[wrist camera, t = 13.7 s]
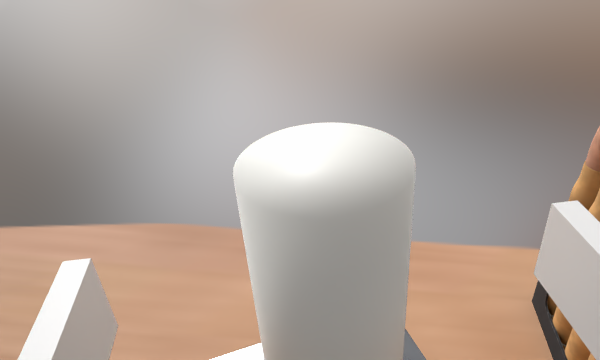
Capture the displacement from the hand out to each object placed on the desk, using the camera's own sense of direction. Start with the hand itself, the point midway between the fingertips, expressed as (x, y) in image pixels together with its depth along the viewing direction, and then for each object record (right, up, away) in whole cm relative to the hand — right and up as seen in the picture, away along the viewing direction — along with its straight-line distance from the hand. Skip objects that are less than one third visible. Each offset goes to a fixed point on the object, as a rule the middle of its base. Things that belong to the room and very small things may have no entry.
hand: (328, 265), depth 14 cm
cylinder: (+1, -9, +4) cm, 10 cm away
